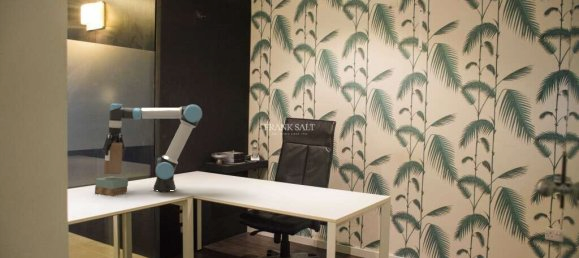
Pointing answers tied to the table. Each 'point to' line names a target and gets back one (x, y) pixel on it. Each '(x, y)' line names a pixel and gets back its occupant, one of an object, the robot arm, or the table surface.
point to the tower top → (111, 182)
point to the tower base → (110, 191)
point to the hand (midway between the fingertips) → (113, 159)
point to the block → (114, 159)
